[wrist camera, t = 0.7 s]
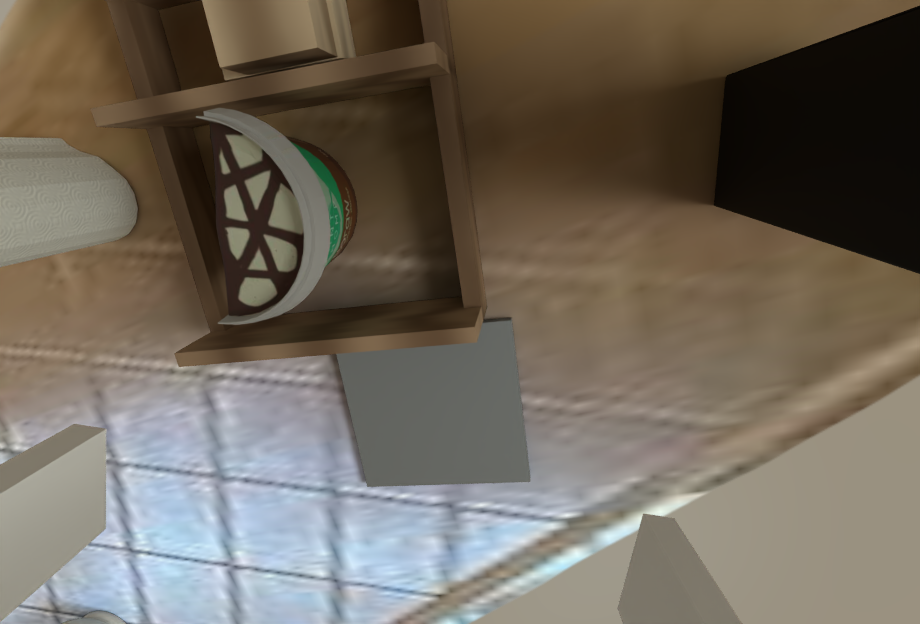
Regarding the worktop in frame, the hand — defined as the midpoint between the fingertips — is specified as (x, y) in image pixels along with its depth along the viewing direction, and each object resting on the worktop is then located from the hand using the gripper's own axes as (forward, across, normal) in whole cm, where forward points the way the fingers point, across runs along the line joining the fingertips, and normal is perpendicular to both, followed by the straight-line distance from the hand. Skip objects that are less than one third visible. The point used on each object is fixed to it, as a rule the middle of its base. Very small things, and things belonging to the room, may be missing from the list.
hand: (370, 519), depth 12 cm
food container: (+26, -9, +6) cm, 28 cm away
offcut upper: (+22, -12, +16) cm, 30 cm away
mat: (+27, +1, -8) cm, 28 cm away
